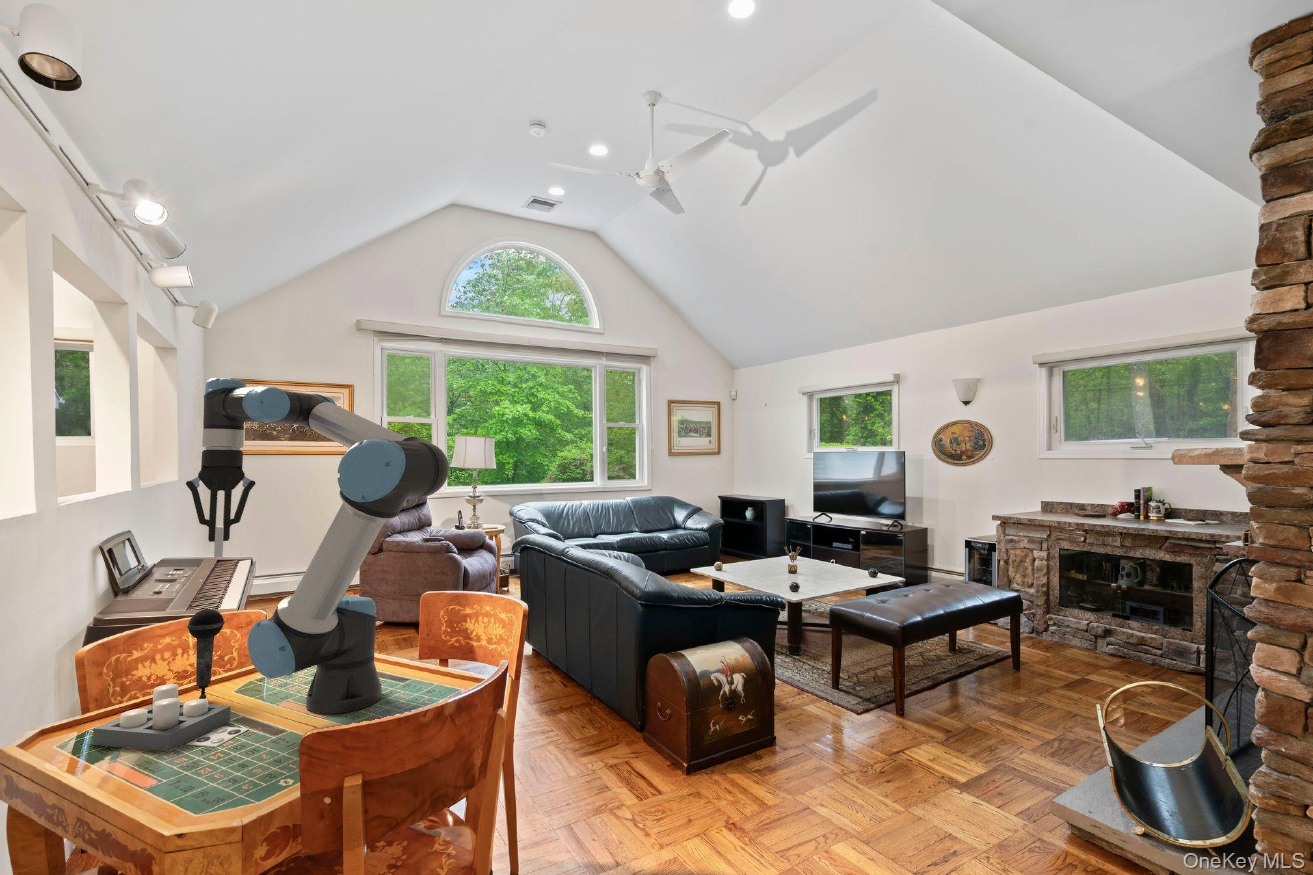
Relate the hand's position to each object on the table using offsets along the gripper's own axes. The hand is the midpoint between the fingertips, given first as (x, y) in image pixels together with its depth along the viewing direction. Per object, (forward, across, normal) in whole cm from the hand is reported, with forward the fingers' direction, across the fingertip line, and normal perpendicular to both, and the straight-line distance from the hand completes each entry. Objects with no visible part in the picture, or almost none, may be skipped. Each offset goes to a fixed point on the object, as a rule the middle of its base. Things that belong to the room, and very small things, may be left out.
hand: (218, 556), depth 138 cm
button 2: (+30, +8, +6) cm, 31 cm away
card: (+32, -1, +19) cm, 38 cm away
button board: (+32, +8, +11) cm, 35 cm away
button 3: (+30, +8, +15) cm, 34 cm away
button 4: (+32, +3, +11) cm, 34 cm away
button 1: (+32, +13, +10) cm, 36 cm away
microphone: (+33, +1, -6) cm, 33 cm away
